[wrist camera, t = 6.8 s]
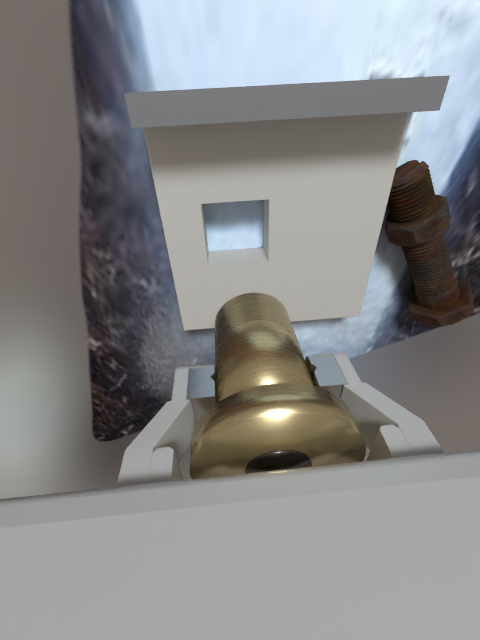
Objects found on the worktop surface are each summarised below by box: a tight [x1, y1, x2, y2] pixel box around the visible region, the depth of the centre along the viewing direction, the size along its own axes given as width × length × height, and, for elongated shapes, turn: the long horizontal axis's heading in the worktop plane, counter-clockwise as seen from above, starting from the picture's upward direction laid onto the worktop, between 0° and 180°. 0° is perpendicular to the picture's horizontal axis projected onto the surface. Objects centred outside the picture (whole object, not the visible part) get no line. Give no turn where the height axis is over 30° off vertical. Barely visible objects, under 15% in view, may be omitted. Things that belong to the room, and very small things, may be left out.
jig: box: [124, 76, 449, 330], centre depth 23 cm, size 17×18×6 cm
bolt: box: [385, 160, 473, 327], centre depth 26 cm, size 6×5×15 cm
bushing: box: [190, 293, 366, 479], centre depth 12 cm, size 5×5×7 cm
